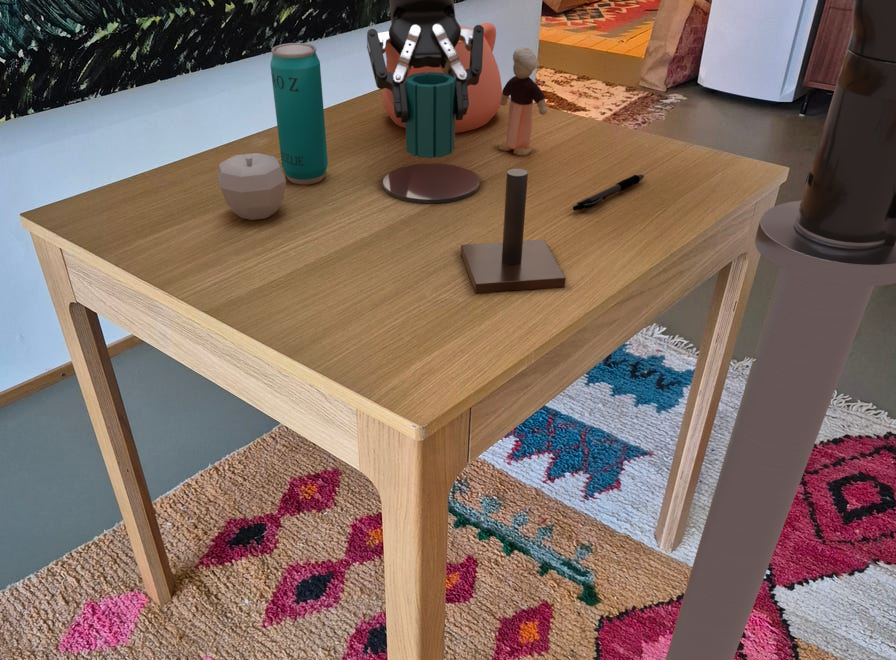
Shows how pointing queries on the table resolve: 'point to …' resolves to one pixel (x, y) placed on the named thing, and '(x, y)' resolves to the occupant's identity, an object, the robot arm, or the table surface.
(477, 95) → the teapot
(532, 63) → the grandmother figurine
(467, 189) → the slate coaster
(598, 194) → the pen
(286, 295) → the table surface
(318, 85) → the beverage can
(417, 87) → the teal octagonal tube
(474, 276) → the holder
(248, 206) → the apple
